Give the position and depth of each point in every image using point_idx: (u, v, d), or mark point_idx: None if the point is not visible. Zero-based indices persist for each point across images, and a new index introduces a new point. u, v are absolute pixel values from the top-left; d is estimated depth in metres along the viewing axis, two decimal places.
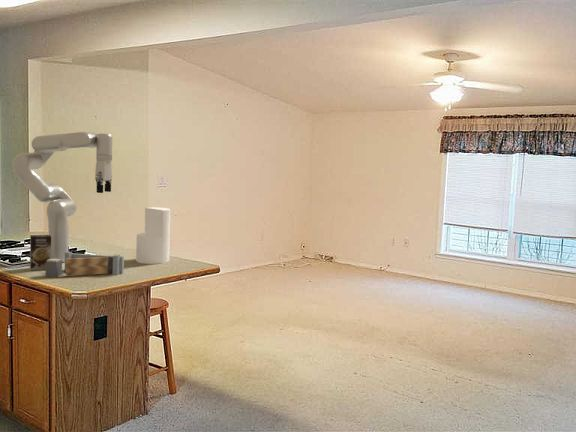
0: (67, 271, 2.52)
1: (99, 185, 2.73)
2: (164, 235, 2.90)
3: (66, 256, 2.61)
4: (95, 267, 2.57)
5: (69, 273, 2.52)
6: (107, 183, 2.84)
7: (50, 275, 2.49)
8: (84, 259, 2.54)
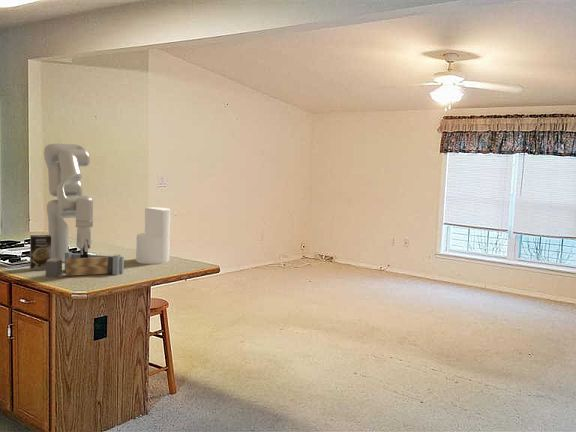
0: (67, 271, 2.52)
1: (85, 255, 2.56)
2: (164, 235, 2.90)
3: (66, 256, 2.61)
4: (95, 267, 2.57)
5: (69, 273, 2.52)
6: None
7: (50, 275, 2.49)
8: (84, 259, 2.54)
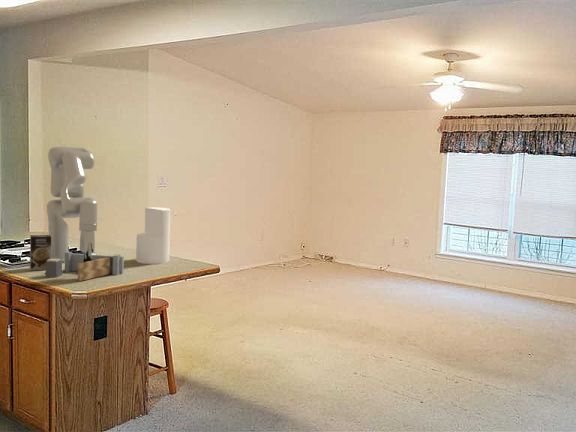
0: (81, 276, 2.43)
1: (88, 259, 2.50)
2: (164, 235, 2.90)
3: (66, 256, 2.61)
4: (101, 269, 2.54)
5: (82, 278, 2.44)
6: None
7: (50, 275, 2.49)
8: (93, 262, 2.49)
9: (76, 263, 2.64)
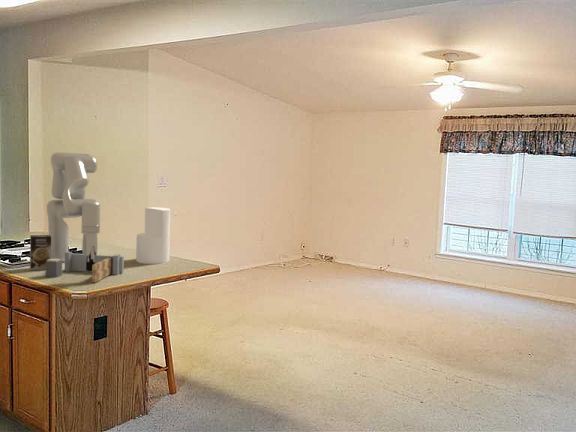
0: (95, 278, 2.42)
1: (91, 262, 2.42)
2: (164, 235, 2.90)
3: (66, 256, 2.61)
4: (106, 269, 2.54)
5: (96, 279, 2.43)
6: None
7: (50, 275, 2.49)
8: (102, 263, 2.48)
9: (76, 263, 2.64)
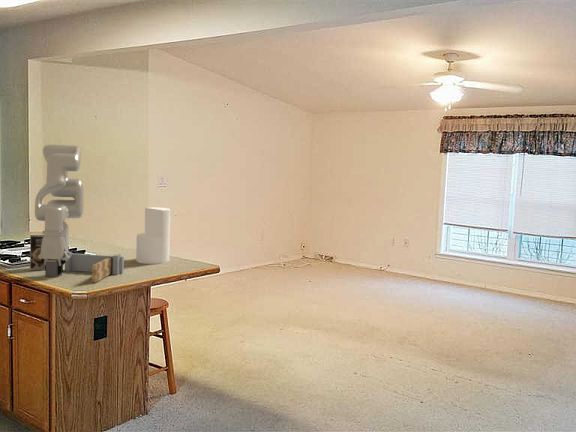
0: (96, 278, 2.42)
1: (62, 265, 2.51)
2: (164, 235, 2.90)
3: None
4: (106, 269, 2.54)
5: (96, 279, 2.43)
6: None
7: (50, 275, 2.49)
8: (102, 263, 2.48)
9: (76, 263, 2.64)
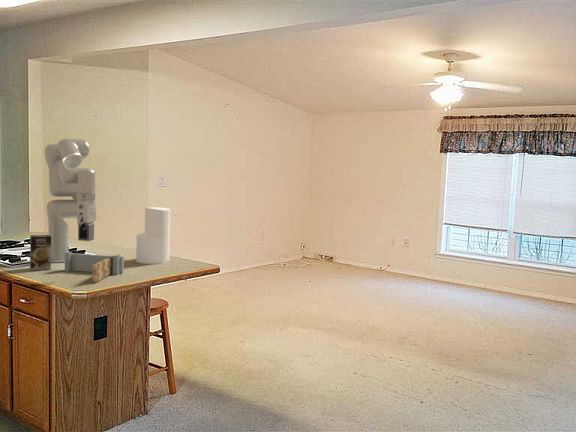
0: (96, 278, 2.42)
1: None
2: (164, 235, 2.90)
3: (66, 256, 2.61)
4: (106, 269, 2.54)
5: (96, 279, 2.43)
6: None
7: (91, 238, 2.48)
8: (102, 263, 2.48)
9: (76, 263, 2.64)
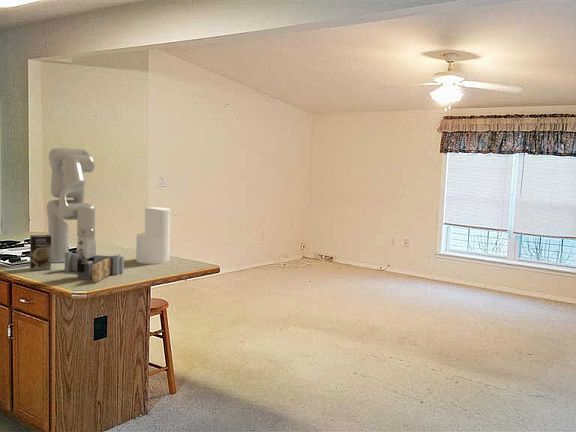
0: (96, 278, 2.42)
1: None
2: (164, 235, 2.90)
3: (66, 256, 2.61)
4: (106, 269, 2.54)
5: (96, 279, 2.43)
6: None
7: (90, 276, 2.50)
8: (102, 263, 2.48)
9: (76, 263, 2.64)
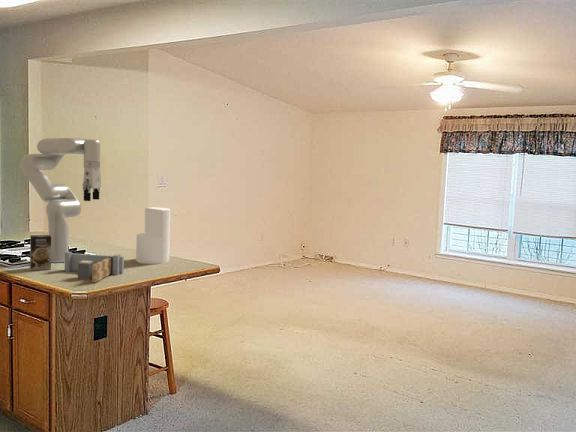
0: (96, 278, 2.42)
1: None
2: (164, 235, 2.90)
3: (66, 256, 2.61)
4: (106, 269, 2.54)
5: (96, 279, 2.43)
6: None
7: (90, 276, 2.50)
8: (102, 263, 2.48)
9: (76, 263, 2.64)
